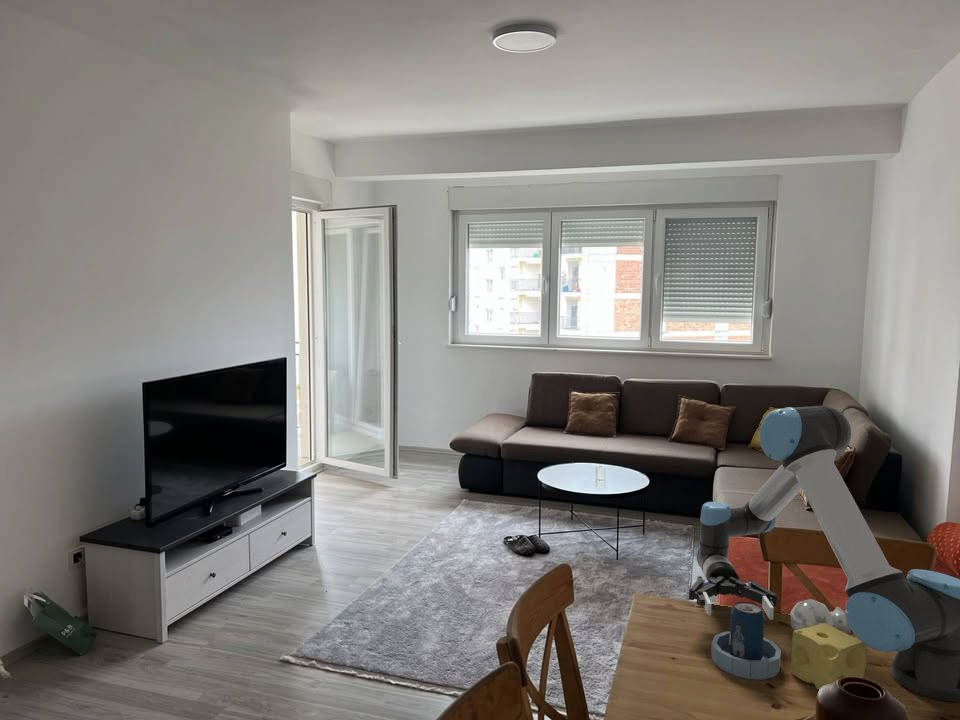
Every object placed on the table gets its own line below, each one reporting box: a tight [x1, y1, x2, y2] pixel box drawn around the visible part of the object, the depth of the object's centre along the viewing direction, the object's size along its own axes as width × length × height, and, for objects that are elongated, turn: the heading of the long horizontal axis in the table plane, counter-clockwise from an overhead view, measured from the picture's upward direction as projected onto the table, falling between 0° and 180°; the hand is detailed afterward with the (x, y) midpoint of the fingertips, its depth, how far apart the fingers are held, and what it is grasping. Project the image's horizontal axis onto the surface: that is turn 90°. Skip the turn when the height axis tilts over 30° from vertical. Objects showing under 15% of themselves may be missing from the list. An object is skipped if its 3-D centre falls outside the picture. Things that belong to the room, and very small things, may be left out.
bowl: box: [710, 631, 782, 681], centre depth 157 cm, size 14×14×4 cm
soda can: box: [729, 600, 765, 660], centre depth 157 cm, size 7×7×12 cm
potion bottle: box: [790, 598, 855, 636], centre depth 169 cm, size 9×10×15 cm
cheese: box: [790, 623, 868, 690], centre depth 150 cm, size 10×11×10 cm
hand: (740, 611), depth 161 cm, fingers open, 13 cm apart
